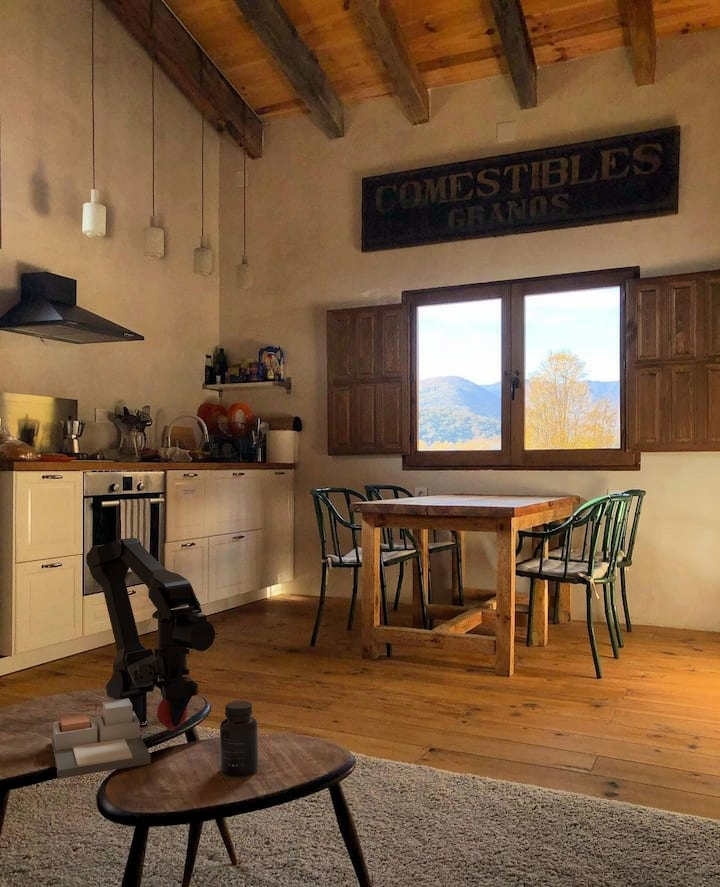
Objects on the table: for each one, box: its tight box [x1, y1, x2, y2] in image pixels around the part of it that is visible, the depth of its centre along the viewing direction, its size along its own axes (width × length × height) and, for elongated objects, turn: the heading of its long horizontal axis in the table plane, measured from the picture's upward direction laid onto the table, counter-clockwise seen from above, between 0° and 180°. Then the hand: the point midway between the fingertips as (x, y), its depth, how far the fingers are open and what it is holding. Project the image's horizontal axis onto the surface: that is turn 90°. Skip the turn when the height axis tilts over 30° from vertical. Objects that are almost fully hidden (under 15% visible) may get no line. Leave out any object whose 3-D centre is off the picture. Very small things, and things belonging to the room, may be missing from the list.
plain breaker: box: [102, 698, 132, 726], centre depth 156 cm, size 5×5×4 cm
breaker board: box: [50, 711, 152, 780], centre depth 150 cm, size 16×19×4 cm
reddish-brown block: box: [59, 713, 90, 732], centre depth 153 cm, size 5×5×4 cm
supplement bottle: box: [219, 699, 259, 778], centre depth 142 cm, size 7×7×12 cm
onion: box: [156, 699, 188, 732], centre depth 157 cm, size 6×6×8 cm
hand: (172, 720), depth 157 cm, fingers closed on onion, 6 cm apart
